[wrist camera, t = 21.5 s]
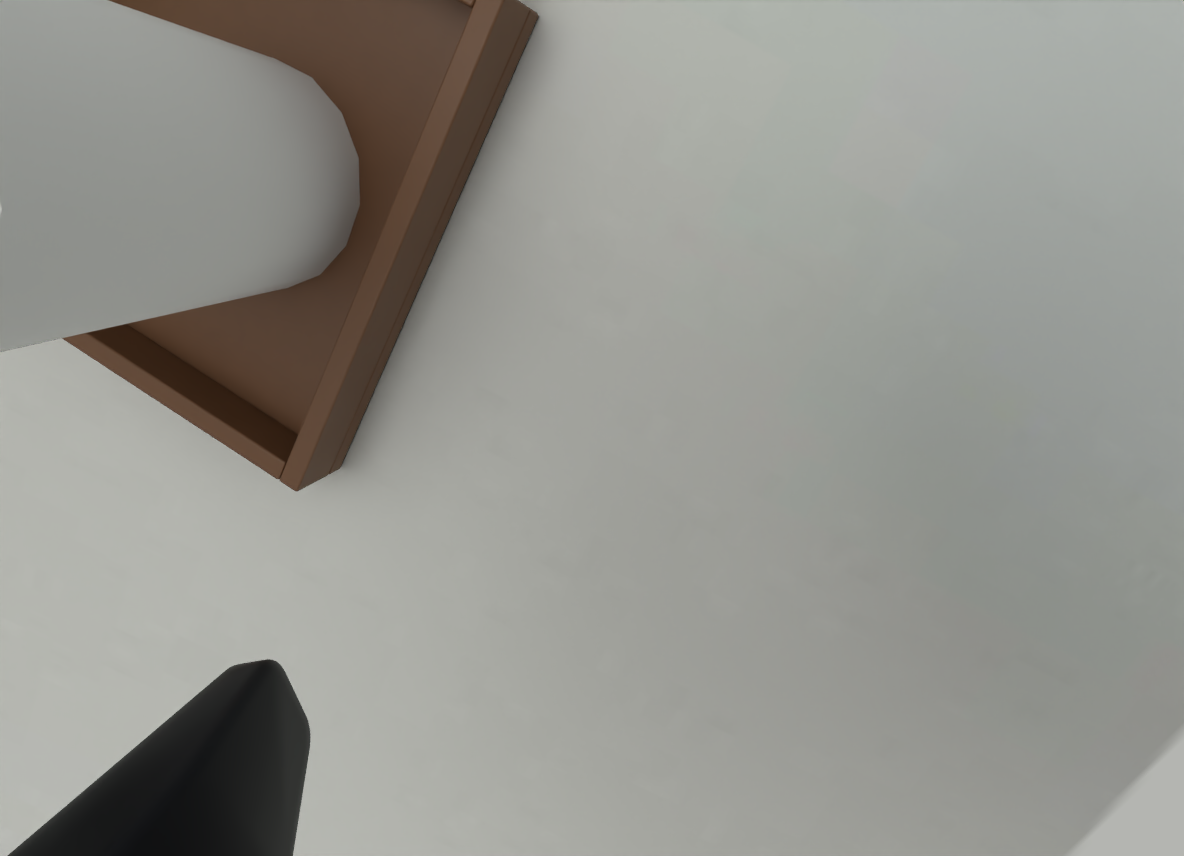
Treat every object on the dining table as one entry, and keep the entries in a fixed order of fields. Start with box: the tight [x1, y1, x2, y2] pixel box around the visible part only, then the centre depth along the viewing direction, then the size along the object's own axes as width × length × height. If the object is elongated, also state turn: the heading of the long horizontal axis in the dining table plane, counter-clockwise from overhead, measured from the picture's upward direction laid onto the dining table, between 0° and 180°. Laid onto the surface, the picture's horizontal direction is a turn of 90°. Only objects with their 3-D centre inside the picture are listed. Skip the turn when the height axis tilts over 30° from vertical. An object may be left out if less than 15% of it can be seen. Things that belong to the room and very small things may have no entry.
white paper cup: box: [0, 0, 360, 352], centre depth 16 cm, size 7×7×10 cm
